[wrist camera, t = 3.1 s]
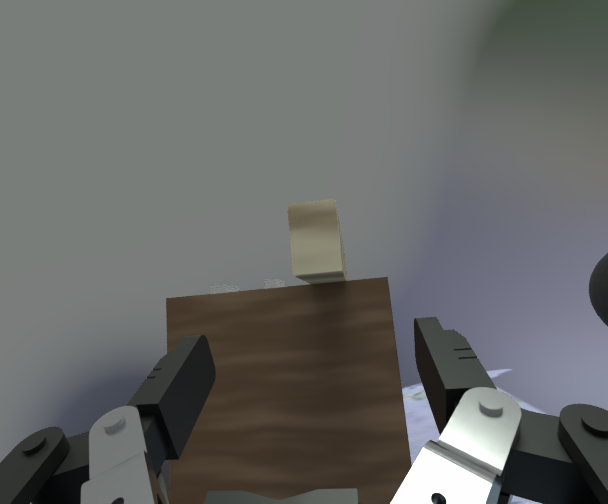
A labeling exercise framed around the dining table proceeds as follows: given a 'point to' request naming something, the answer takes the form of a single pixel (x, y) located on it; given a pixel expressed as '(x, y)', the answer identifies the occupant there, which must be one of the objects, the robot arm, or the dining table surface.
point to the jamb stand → (295, 393)
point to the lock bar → (316, 242)
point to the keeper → (227, 288)
